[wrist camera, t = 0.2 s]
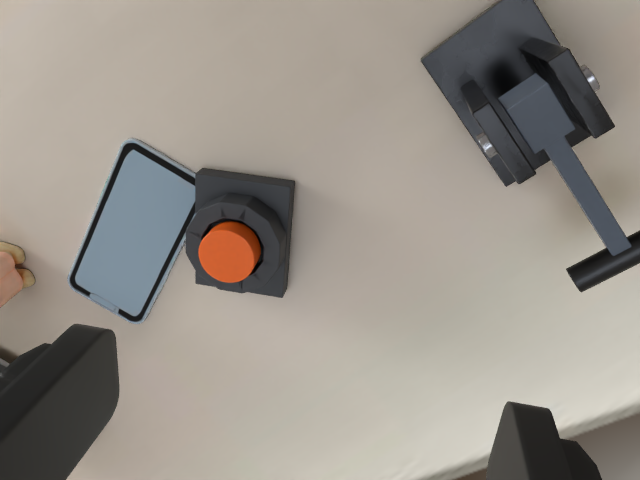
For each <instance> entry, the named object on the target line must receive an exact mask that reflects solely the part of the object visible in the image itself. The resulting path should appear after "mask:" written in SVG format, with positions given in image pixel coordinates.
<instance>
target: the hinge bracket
mask: <svg viewBox="0 0 640 480" xmlns="http://www.w3.org/2000/svg"><path fill="white" fill-rule="evenodd" d="M421 62H422V63H423V65H424V66H425V68H426V69H427V71H428V72H429V74H430V75H431V76H432V78H433V79H434V81H435V82H436V84H437V85H438V87H439V88H440V90H441V91H442V93H443V94H444V96H445V97H446V99H447V100H448V102H449V103H450V105H451V106H452V108H453V109H454V111H455V112H456V114H457V115H458V117H459V118H460V120H461V121H462V122H463V124H464V125H465V127H466V128H467V130H468V131H469V133H470V134H471V136H472V137H473V139H474V140H475V142H476V143H477V145H478V146H479V148H480V149H481V151H482V152H483V154H484V155H485V157H486V158H487V160H488V161H489V163H490V164H491V166H492V167H493V168H494V170H495V171H496V173H497V174H498V176H499V177H500V179H501V180H502V182H503V183H504V185H505V186H506V187H507V186H508V185H510V184H512V183H513V182H515V181H516V182H517V183H518V184H521V183H522V182H524V181H526V180H527V179H529V178H531V177H532V176H534V175H535V174H536V172H535V169H537V168H538V167H540V166H542V165H543V164H545V163H546V162H548V161H550V158H549V157H548V155H547V154H546V152H545V150H544V149H542V150H541V151H539V152H537V153H536V154H534V153H533V152H532V150H531V149H530V147H529V146H528V145H527V143H526V142H525V141H524V139H523V138H522V136H521V134H520V133H519V131H518V130H517V128H516V127H515V125H514V124H513V122H512V121H511V119H510V117H509V116H508V114H507V113H506V111H505V110H504V108H503V107H502V105H501V104H500V102H499V100H498V98H499V97H501V96H502V95H504V94H505V93H507V92H508V91H510V90H511V89H513V88H514V87H516V86H517V85H519V84H520V83H522V82H523V81H525V80H526V79H528V78H529V77H530V76H532V75H533V74H535V73H536V74H538V75H539V76H540V77H541V78H543V79H544V80H545V81H546V82H547V83H548V84H549V85H550V87H551V89H552V90H553V92H554V94H555V95H556V97H557V98H558V100H559V102H560V103H561V105H562V107H563V108H564V110H565V112H566V113H567V115H568V117H569V118H570V120H571V122H572V123H573V125H574V127H575V130H573V131H571V132H570V133H568V134H566V135H565V136H564V137H565V138H566V140H567V141H568V143H569V145H570V146H571V147H573V146H575V145H576V144H578V143H580V142H581V141H583V140H584V139H586V138H588V137H589V136H593V137H594V138H597V137H599V136H601V135H602V134H604V133H606V132H607V131H609V130H611V129H612V128H614V127H615V125H614V123H613V122H612V120H611V118H610V117H609V115H608V113H607V112H606V110H605V108H604V107H603V105H602V103H601V102H600V100H599V98H598V97H597V95H596V93H595V91H597V90H599V88H600V86H599V83H598V81H597V79H596V78H595V76H594V75H593V73H592V72H591V71H590V69H589V68H588V67H587V66H585V65H583V66H581V67H579V65H578V63H577V62H576V60H575V58H574V57H573V55H572V53H571V52H570V50H569V49H568V48H565V47H562V46H561V45H560V43H559V42H558V40H557V38H556V37H555V35H554V33H553V32H552V30H551V28H550V27H549V25H548V23H547V22H546V20H545V19H544V17H543V15H542V14H541V12H540V10H539V9H538V7H537V5H536V4H535V2H534V0H499V1H497V2H496V3H495V4H493V5H492V6H491V7H489V8H488V9H487V10H485V11H484V12H483V13H481V14H480V15H479V16H477V17H476V18H475V19H473V20H472V21H471V22H469V23H468V24H467V25H465V26H464V27H462V28H461V29H460V30H458V31H457V32H456V33H454V34H453V35H452V36H450V37H449V38H448V39H446V40H445V41H444V42H442V43H441V44H440V45H438V46H437V47H436V48H434V49H433V50H432V51H430V52H429V53H428V54H426V55H425V56H424V57H422V58H421Z"/></svg>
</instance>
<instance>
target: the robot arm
mask: <svg viewBox="0 0 640 480" xmlns="http://www.w3.org/2000/svg"><path fill="white" fill-rule="evenodd" d="M118 398H119V376H118V362H117V348H116V337H115V334H114V332H113V331H112V330H110V329H104V328H98V327H93V326H87V325H81V324H74V325H72V326H71V327H69V328H68V329H67V330H66V331H65V332H64V333H63V334H62V335H61V336H60V337H59V338H58V339H57V340H56V341H54V342H53V343H52V344H47V343H44V344H42V345H40V346H38V347H36V348H34V349H32V350H30V351H28V352H26V353H24V354H22V355H20V356H19V357H17V358H16V359H15V360H14V361H13V362H12V363H11V364H10V365H8V366H7V367H6V368H5V369H4V370H3V371H2V372H1V373H0V480H66V479H67V477H68V476H69V475H70V473H71V472H72V470H73V469H74V468H75V466H76V465H77V464H78V462H79V461H80V460H81V458H82V457H83V456H84V454H85V453H86V451H87V450H88V449H89V447H90V446H91V445H92V443H93V442H94V441H95V439H96V438H97V437H98V435H99V434H100V432H101V431H102V430H103V428H104V427H105V426H106V424H107V423H108V422H109V420H110V419H111V417H112V415H113V413H114V411H115V408H116V406H117V402H118ZM486 476H487V477H486V480H602V478H601V476H600V473H599V471H598V468H597V465H596V464H595V463H594V462H593V461H592V459H591V458H590V457H589V456H588V455H587V453H586V452H585V451H584V450H583V449H582V447H581V446H580V445H579V444H578V443H577V442H576V441H570V440H565V439H560V437H559V434H558V431H557V428H556V425H555V422H554V419H553V416H552V413H551V411H550V410H549V409H548V408H543V407H537V406H532V405H526V404H520V403H515V402H507V403H506V405H505V407H504V410H503V413H502V416H501V420H500V423H499V427H498V430H497V434H496V437H495V440H494V444H493V447H492V451H491V454H490V458H489V462H488V467H487V475H486Z"/></svg>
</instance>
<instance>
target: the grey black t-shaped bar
mask: <svg viewBox="0 0 640 480" xmlns="http://www.w3.org/2000/svg"><path fill="white" fill-rule="evenodd" d="M498 100H499V102H500V104H501V105H502V107H503V108H504V110H505V111H506V113H507V114H508V116H509V117H510V119H511V121H512V122H513V124H514V125H515V127H516V128H517V130H518V131H519V133H520V134H521V136H522V138H523V139H524V141H525V142H526V143H527V145H528V146H529V147H530V149H531V150H532V152H533V153H534V154H536V153H537V152H539V151H541V150H542V149H544V150H545V152H546V154H547V155H548V157H549V158H550V160H551V161H552V163H553V165H554V166H555V168H556V169H557V171H558V172H559V174H560V176H561V177H562V179H563V180H564V182H565V183H566V185H567V187H568V188H569V190H570V191H571V193H572V194H573V196H574V198H575V199H576V201H577V202H578V204H579V205H580V207H581V209H582V210H583V212H584V213H585V215H586V216H587V218H588V220H589V221H590V223H591V224H592V226H593V227H594V229H595V231H596V232H597V234H598V235H599V237H600V238H601V240H602V242H603V243H604V245H605V246H606V248H605V249H603V250H601V251H599V252H598V253H596V254H594V255H592V256H590V257H588V258H586V259H584V260H582V261H580V262H578V263H577V264H575V265H573V266H571V267H569V268H567V269H566V270H567V272H568V274H569V275H570V277H571V279H572V280H573V282H574V283H575V285H576V286H577V288H578V289H579V291H580V292H583V291H585V290H587V289H589V288H591V287H593V286H595V285H597V284H599V283H601V282H603V281H605V280H607V279H609V278H611V277H613V276H615V275H617V274H619V273H621V272H623V271H625V270H627V269H629V268H631V267H633V266H635V265H637V264H639V263H640V231H638V232H636V233H634V234H632V235H630V236H628V237H626V236H625V234H624V232H623V231H622V229H621V227H620V226H619V224H618V223H617V221H616V219H615V218H614V216H613V214H612V213H611V211H610V210H609V208H608V206H607V205H606V203H605V201H604V200H603V198H602V197H601V195H600V193H599V192H598V190H597V188H596V187H595V185H594V184H593V182H592V180H591V179H590V177H589V175H588V174H587V172H586V171H585V169H584V167H583V166H582V164H581V162H580V161H579V159H578V158H577V156H576V154H575V153H574V151H573V149H572V148H571V146H570V145H569V143H568V141H567V140H566V138H565V137H564V136H565V135H566V134H568V133H570V132H571V131H573V130H575V127H574V125H573V123H572V122H571V120H570V118H569V117H568V115H567V113H566V112H565V110H564V108H563V107H562V105H561V103H560V102H559V100H558V98H557V97H556V95H555V94H554V92H553V90H552V89H551V87H550V85H549V84H548V83H547V82H546V81H545V80H544V79H543V78H541V77H540V76H539V75H538V74H536V73H535V74H533V75H532V76H530V77H529V78H528V79H526V80H525V81H523V82H522V83H520V84H519V85H517V86H516V87H514V88H513V89H511V90H510V91H508V92H507V93H505V94H504V95H502V96H501V97H499V98H498Z"/></svg>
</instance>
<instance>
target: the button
mask: <svg viewBox="0 0 640 480" xmlns="http://www.w3.org/2000/svg"><path fill="white" fill-rule="evenodd" d="M260 254H261V247H260V243H259V240H258V238H257V236H256V235H255V233H254V232H253V231H252V230H251V229H250V228H249V227H247V226H246V225H244V224H242V223H239V222H234V221H226V222H222V223H219V224H217V225H216V226H214V227H213V228H212V229H211V230H210V231H209V233H208V234H207V235H206V236H205V237H204V238H203V240H202V241H201V243H200V246H199V260H200V262H201V265H202V267H203V268H204V270H205V271H206V272H207V273H208V274H209V275H210V276H212V277H213V278H215V279H217V280H219V281H222V282H227V283H234V282H239V281H241V280H243V279H245V278H246V277H248V276H249V275H250V273H251V272H252V270H253V269H254V267H255V265H256V264H257V262H258V260H259V258H260Z"/></svg>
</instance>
